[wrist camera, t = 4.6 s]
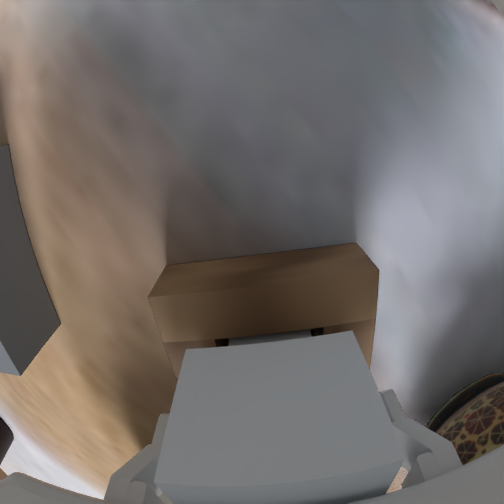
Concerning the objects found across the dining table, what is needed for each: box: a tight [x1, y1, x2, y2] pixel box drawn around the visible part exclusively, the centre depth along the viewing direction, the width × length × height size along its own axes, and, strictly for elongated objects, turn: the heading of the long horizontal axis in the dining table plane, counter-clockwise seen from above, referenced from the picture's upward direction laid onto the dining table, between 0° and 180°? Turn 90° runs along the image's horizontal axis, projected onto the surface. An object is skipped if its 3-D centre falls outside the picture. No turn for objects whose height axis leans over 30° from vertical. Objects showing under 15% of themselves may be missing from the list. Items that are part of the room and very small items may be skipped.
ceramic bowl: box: [402, 373, 504, 489], centre depth 14 cm, size 24×18×15 cm
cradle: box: [148, 243, 379, 381], centre depth 14 cm, size 9×9×3 cm
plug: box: [154, 329, 405, 504], centre depth 11 cm, size 6×6×10 cm
